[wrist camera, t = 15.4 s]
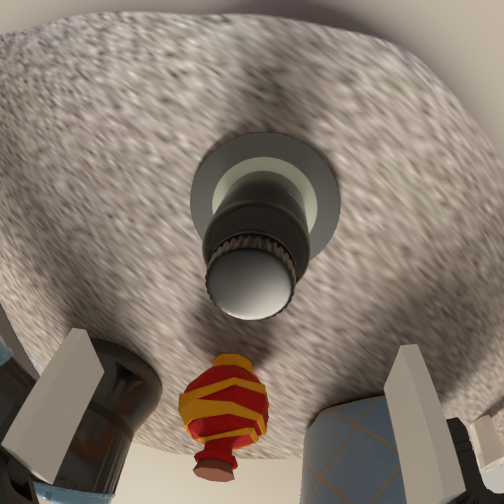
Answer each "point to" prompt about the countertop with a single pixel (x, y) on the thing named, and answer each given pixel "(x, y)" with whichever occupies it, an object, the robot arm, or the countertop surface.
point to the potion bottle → (224, 414)
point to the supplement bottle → (256, 246)
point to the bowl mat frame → (14, 343)
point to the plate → (276, 160)
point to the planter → (352, 456)
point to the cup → (486, 444)
